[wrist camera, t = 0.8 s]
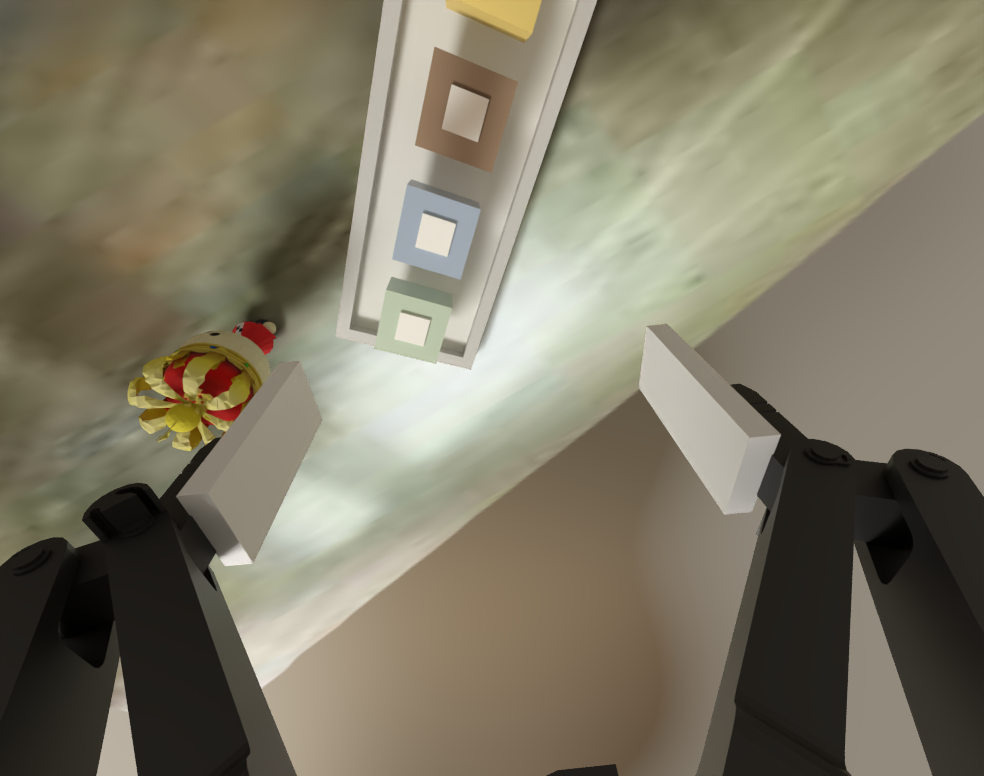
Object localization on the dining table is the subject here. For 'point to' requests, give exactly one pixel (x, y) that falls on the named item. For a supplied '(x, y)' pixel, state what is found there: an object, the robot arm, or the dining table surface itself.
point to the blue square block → (435, 229)
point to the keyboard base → (396, 159)
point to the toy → (204, 382)
